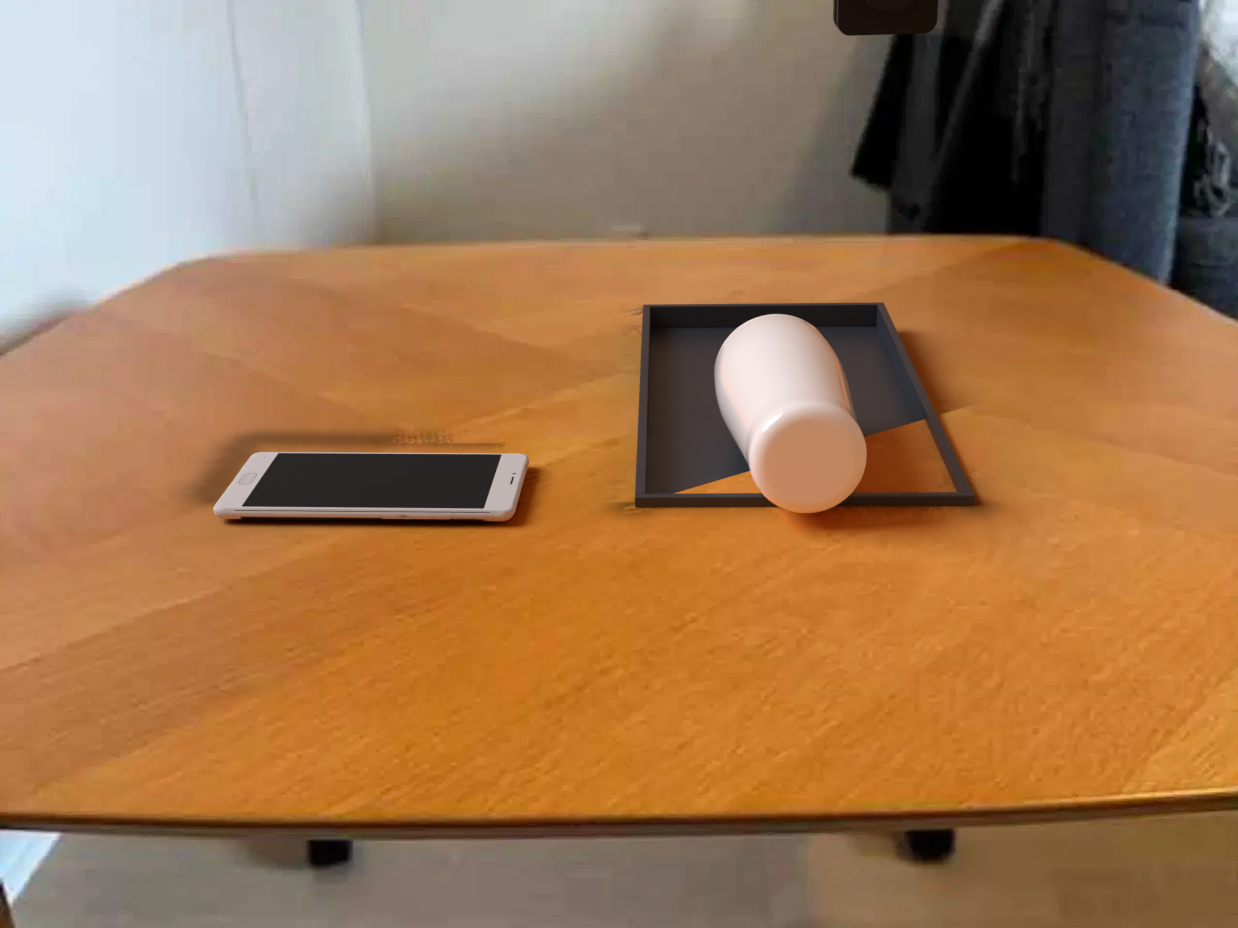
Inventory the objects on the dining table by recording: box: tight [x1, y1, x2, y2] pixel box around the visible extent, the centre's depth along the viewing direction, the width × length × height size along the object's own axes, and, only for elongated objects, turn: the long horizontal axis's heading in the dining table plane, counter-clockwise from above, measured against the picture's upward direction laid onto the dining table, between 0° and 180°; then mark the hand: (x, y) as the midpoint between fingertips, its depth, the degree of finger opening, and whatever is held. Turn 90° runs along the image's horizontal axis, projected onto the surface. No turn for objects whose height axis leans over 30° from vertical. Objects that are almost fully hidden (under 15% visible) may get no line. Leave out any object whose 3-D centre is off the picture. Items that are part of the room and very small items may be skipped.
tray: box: [634, 301, 975, 509], centre depth 84 cm, size 31×16×2 cm, turn 178°
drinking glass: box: [714, 314, 868, 514], centre depth 73 cm, size 7×7×15 cm
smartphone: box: [212, 451, 530, 522], centre depth 75 cm, size 8×1×15 cm
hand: (883, 30), depth 48 cm, fingers closed
